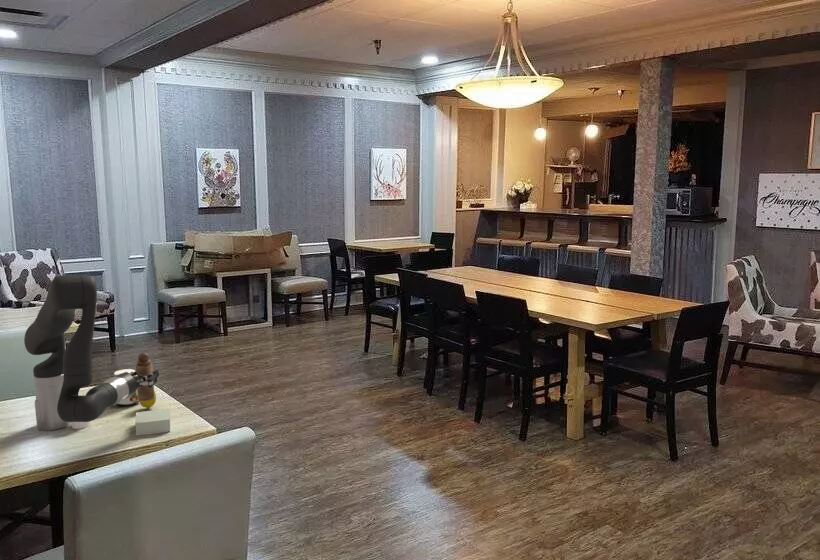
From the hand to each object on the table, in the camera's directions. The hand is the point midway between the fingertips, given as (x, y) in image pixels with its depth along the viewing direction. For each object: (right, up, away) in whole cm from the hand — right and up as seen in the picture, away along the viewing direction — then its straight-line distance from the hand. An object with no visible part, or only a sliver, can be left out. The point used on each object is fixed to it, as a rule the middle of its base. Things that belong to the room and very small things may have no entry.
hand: (149, 372), depth 214 cm
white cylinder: (-23, -18, +4) cm, 30 cm away
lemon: (-8, -15, +19) cm, 25 cm away
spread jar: (-18, -14, +25) cm, 34 cm away
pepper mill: (-1, -8, -1) cm, 8 cm away
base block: (+1, -18, +2) cm, 18 cm away
